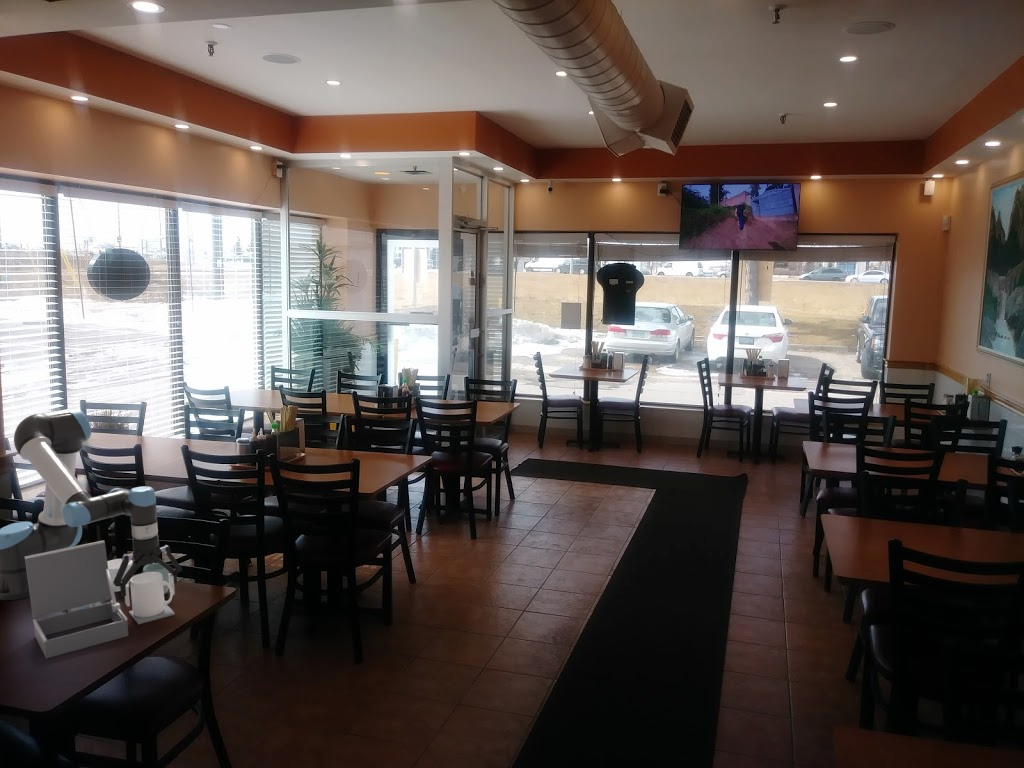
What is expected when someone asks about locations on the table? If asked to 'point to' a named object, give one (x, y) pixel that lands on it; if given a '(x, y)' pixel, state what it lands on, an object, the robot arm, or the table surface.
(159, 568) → the cup
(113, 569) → the cup
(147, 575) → the mug
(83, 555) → the lid
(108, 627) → the case
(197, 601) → the table surface
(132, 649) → the table surface
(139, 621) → the pad
